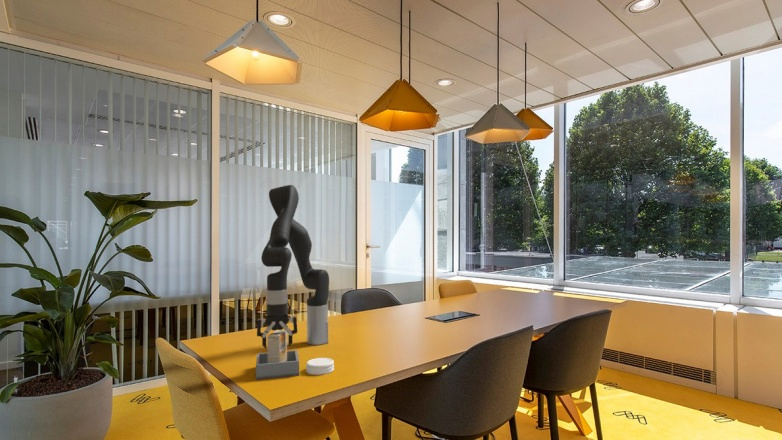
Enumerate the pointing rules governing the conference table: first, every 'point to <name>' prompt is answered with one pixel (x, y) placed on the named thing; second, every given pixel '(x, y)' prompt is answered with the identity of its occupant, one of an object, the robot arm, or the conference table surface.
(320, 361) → the white short cylinder
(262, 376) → the bin
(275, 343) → the supplement box
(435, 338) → the conference table surface
